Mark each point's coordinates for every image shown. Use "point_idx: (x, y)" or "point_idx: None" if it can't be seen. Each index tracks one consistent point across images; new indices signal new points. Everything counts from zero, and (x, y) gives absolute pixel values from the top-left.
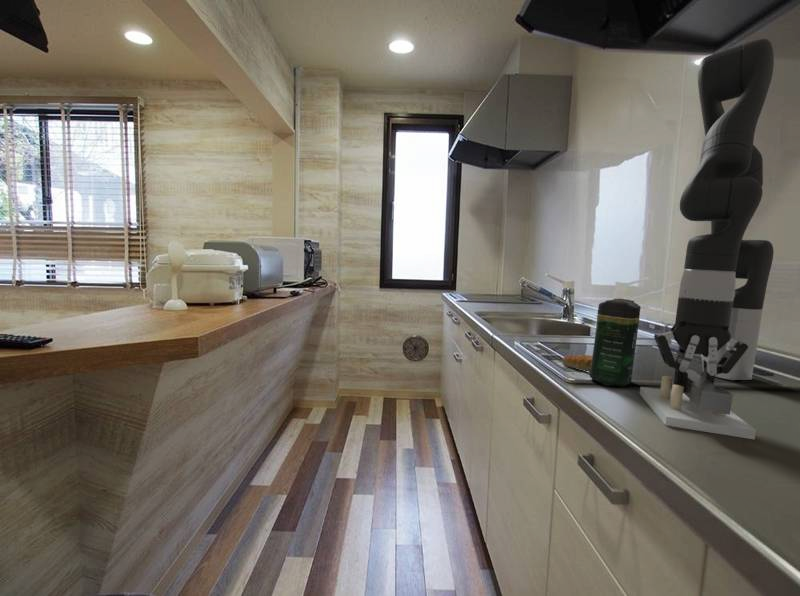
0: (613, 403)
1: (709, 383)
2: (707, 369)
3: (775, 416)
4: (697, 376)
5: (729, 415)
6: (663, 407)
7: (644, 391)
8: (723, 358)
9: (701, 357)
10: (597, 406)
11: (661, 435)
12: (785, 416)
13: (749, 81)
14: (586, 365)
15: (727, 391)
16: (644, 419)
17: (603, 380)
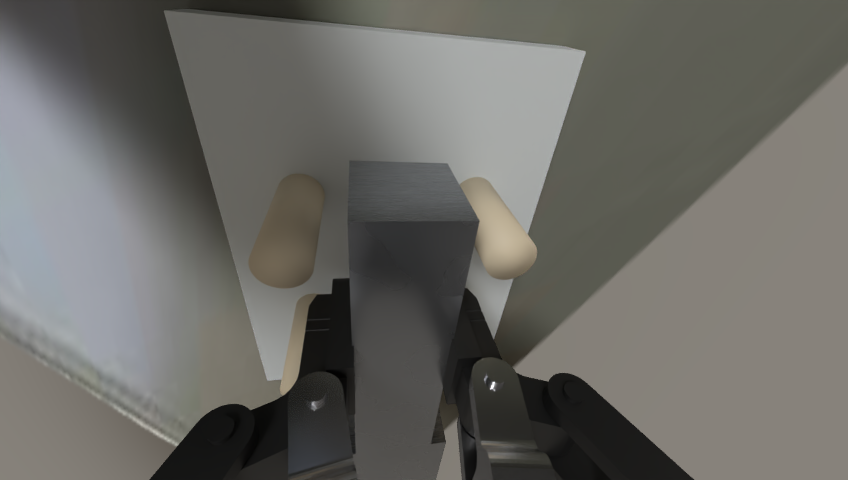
0: (75, 249)
1: (420, 429)
2: (459, 436)
3: (738, 118)
4: (421, 360)
5: (486, 291)
6: (271, 318)
7: (197, 129)
8: (614, 474)
9: (485, 459)
10: (23, 308)
11: (253, 404)
12: (785, 99)
13: None
14: None
15: (436, 470)
16: (214, 342)
17: None
